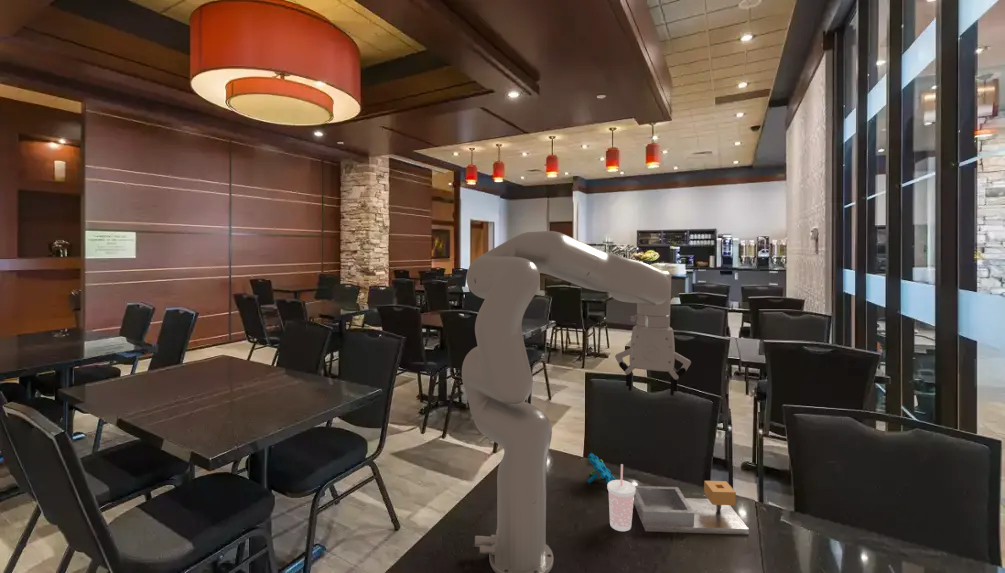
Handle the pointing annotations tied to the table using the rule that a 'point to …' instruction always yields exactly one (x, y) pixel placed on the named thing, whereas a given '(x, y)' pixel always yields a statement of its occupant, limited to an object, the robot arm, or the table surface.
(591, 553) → the table surface
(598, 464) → the blue lobed piece
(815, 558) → the table surface
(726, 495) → the amber wooden brick
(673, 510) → the gray tray
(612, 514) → the beverage cup
